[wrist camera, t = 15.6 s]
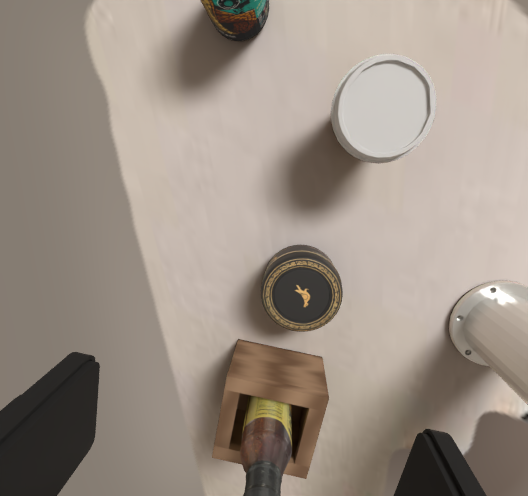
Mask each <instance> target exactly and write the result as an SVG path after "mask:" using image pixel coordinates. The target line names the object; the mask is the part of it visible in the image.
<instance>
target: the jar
mask: <svg viewBox="0 0 528 496" xmlns="http://www.w3.org/2000/svg"><path fill="white" fill-rule="evenodd" d="M261 298H262V302H263V306H264V308H265V310H266V312H267V314H268V315H269V316H270V317H271V319H272V320H274V321H275V322H276V323H277V324H279V325H280V326H282V327H284V328H286V329H289V330H293V331H311V330H315V329H318V328H320V327H322V326H324V325H325V324H327V323H328V322H329V321H331V320H332V319H333V317H334V316H335V315H336V313H337V312H338V310H339V308H340V305H341V302H342V284H341V279H340V276H339V274H338V272H337V270H336V268H335V267H334V265H333V263H332V262H331V260H330V259H329V258H328V256H327V255H326V254H324V253H323V252H322V251H320V250H319V249H317V248H314V247H311V246H307V245H294V246H290V247H287V248H285V249H283V250H281V251H279V252H278V253H277V254H276V255H275V256H274V257H273V258H272V259H271V260H270V262H269V264H268V266H267V268H266V272H265V274H264V277H263V280H262V287H261Z"/></svg>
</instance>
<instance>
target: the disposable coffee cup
mask: <svg viewBox="0 0 528 496" xmlns="http://www.w3.org/2000/svg"><path fill="white" fill-rule="evenodd" d="M435 111H436V92H435V87H434V85H433V82H432V80H431V78H430V76H429V74H428V73H427V72H426V71H425V69H424V68H423V67H422V66H421V65H419V64H418V63H416V62H415V61H413V60H412V59H409V58H408V57H405V56H401V55H397V54H380V55H375V56H372V57H370V58H367V59H365V60H363V61H361V62H360V63H358V64H357V65H355V66H354V67H353V68H352V69H351V70H350V71H349V72H348V73H347V74H346V75H345V76H344V77H343V79H342V80H341V82H340V84H339V85H338V87H337V89H336V92H335V94H334V98H333V101H332V107H331V122H332V126H333V131H334V133H335V135H336V138H337V140H338V142H339V143H340V144H341V145H342V147H343V148H344V149H345V150H346V151H347V152H348V153H349V154H351V155H352V156H354V157H355V158H357V159H360V160H362V161H365V162H371V163H387V162H391V161H395V160H398V159H400V158H402V157H404V156H406V155H408V154H409V153H410V152H412V151H413V150H414V149H415V148H417V147H418V146H419V144H420V143H421V142H422V141H423V140H424V138H425V137H426V135H427V134H428V132H429V130H430V128H431V126H432V123H433V120H434V117H435Z"/></svg>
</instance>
